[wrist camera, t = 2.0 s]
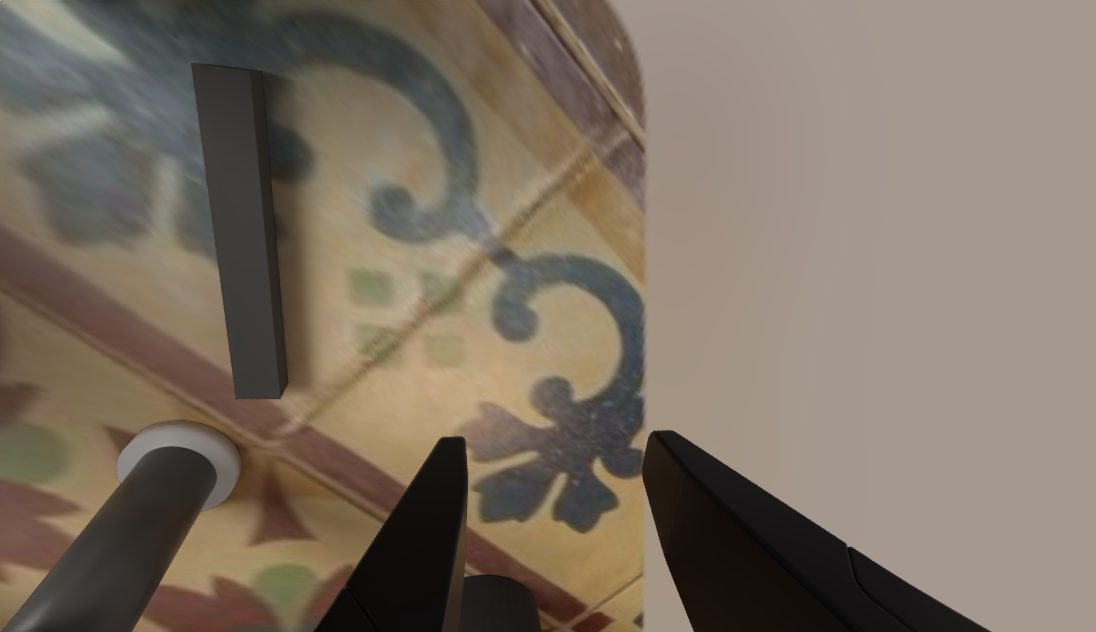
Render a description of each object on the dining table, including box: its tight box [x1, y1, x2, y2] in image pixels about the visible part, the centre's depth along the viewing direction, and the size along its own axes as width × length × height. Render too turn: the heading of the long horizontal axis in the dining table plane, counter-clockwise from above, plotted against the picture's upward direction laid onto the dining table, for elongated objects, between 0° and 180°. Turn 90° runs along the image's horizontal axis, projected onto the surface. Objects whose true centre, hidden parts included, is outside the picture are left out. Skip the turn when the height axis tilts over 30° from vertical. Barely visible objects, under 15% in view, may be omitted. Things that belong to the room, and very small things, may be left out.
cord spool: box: [2, 420, 242, 632], centre depth 18 cm, size 4×4×10 cm
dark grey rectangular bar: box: [191, 63, 288, 399], centre depth 19 cm, size 12×2×2 cm, turn 172°
